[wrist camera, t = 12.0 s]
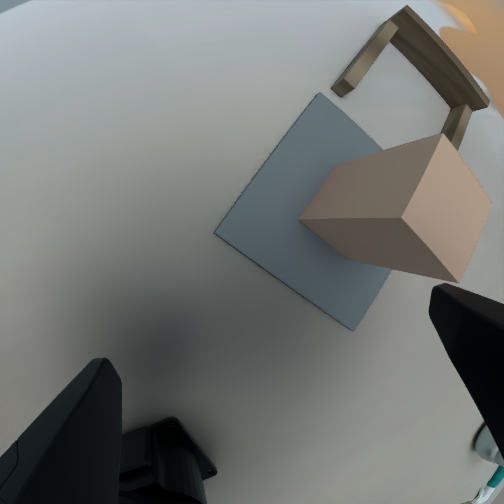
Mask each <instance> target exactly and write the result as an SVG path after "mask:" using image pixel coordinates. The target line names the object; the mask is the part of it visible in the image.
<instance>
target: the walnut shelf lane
mask: <svg viewBox="0 0 504 504" xmlns="http://www.w3.org/2000/svg"><path fill="white" fill-rule="evenodd" d="M389 41H390V42H391V43H392V44H393V45H394V46H395V47H396V48H397V49H398V50H399V51H400V52H401V53H402V54H403V55H404V56H405V57H406V58H407V59H408V60H409V61H410V62H411V63H412V64H413V65H414V66H415V67H416V68H417V69H418V70H419V71H420V72H421V73H422V74H423V75H424V77H425V78H426V79H427V80H428V81H429V82H430V83H431V84H432V86H433V87H434V88H435V89H436V90H437V91H438V93H439V94H440V95H441V96H442V97H443V98H444V100H445V101H446V102H447V103H448V105H449V106H450V107H451V108H452V109H451V111H450V113H449V116H448V118H447V120H446V123H445V125H444V127H443V130H442V132H441V133H443V134H444V135H445V136H446V137H447V139H448V140H449V141H450V142H451V144H452V145H453V146H454V148H455V149H456V150H457V151H458V149H459V146H460V144H461V141H462V139H463V136H464V133H465V131H466V128H467V125H468V122H469V120H470V117H471V114H472V112H473V111H476V110H480V109H483V108H487V107H488V105H489V102H490V100H489V99H488V97H487V96H486V95H485V93H484V92H483V90H482V89H481V88H480V86H479V85H478V83H477V82H476V81H475V79H474V78H473V77H472V76H471V74H470V73H469V72H468V70H467V69H466V68H465V67H464V65H463V64H462V63H461V62H460V60H459V59H458V58H457V57H456V56H455V54H454V53H453V52H452V51H451V50H450V49H449V47H448V46H447V45H446V44H445V43H444V42H443V41H442V40H441V38H440V37H439V36H438V35H437V34H436V33H435V32H434V31H433V30H432V29H431V28H430V27H429V26H428V25H427V24H426V23H425V22H424V21H423V20H422V19H421V18H420V17H419V16H418V15H417V14H416V13H415V12H414V11H413V10H412V9H411V8H410V7H409V6H408V5H406V6H405V7H404V8H402V9H401V10H400V11H398V12H397V13H396V14H394V15H393V16H392V17H391V18H389V19H388V20H387V21H385V22H384V23H383V24H382V25H381V26H380V27H379V28H378V29H377V31H376V32H375V33H374V34H373V36H372V37H371V38H370V39H369V41H368V42H367V43H366V44H365V46H364V47H363V48H362V49H361V51H360V52H359V53H358V54H357V56H356V57H355V58H354V59H353V61H352V62H351V63H350V64H349V66H348V67H347V68H346V69H345V71H344V72H343V73H342V75H341V76H340V77H339V78H338V80H337V81H336V82H335V84H334V85H333V86H332V87H331V89H332V90H333V91H334V92H335V93H336V94H338V95H339V96H340V97H343V96H344V95H346V94H347V93H349V92H350V91H352V90H353V89H355V87H356V86H357V85H358V83H359V82H360V81H361V79H362V78H363V76H364V75H365V74H366V72H367V71H368V70H369V68H370V67H371V65H372V64H373V63H374V61H375V60H376V58H377V57H378V56H379V54H380V53H381V52H382V50H383V49H384V48H385V46H386V45H387V43H388V42H389Z"/></svg>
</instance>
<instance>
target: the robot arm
mask: <svg viewBox="0 0 504 504" xmlns="http://www.w3.org/2000/svg"><path fill="white" fill-rule="evenodd" d="M429 316H430V319H431V321H432V323H433V325H434V327H435V329H436V331H437V333H438V335H439V337H440V339H441V341H442V343H443V345H444V348H445V350H446V352H447V354H448V356H449V358H450V360H451V362H452V363H453V365H454V367H455V368H456V370H457V372H458V374H459V375H460V377H461V379H462V381H463V382H464V384H465V386H466V388H467V389H468V391H469V393H470V395H471V397H472V398H473V400H474V402H475V404H476V406H477V408H478V410H479V411H480V413H481V415H482V417H483V419H484V421H485V423H486V425H487V427H488V429H489V431H490V433H491V435H492V437H493V439H494V441H495V443H496V445H497V447H498V449H499V452H500V454H501V456H502V458H503V460H504V304H502V303H500V302H497V301H494V300H492V299H489V298H486V297H484V296H481V295H478V294H475V293H473V292H470V291H467V290H464V289H462V288H459V287H456V286H453V285H450V284H448V283H443V284H440V285H436V286H434V287H433V289H432V292H431V299H430V305H429ZM171 423H174V424H176V425H174V426H171V425H170V424H171ZM210 470H212V471H210ZM216 474H217V469H216V467H215V466H214V464H213V463H212V462H211V461H210V460H209V458H208V457H207V456H206V455H205V454H204V452H203V451H202V450H201V449H200V447H199V446H198V445H197V444H196V442H195V441H194V440H193V439H192V437H191V436H190V435H189V433H188V432H187V431H186V429H185V428H184V427H183V426H182V424H181V423H180V422H179V420H178V419H176V418H173V417H171V418H168V419H165V420H163V421H160V422H158V423H156V424H153V425H151V426H144V427H142V428H139V429H137V430H134V431H132V432H129V433H127V434H124V435H122V382H121V379H120V377H119V375H118V373H117V372H116V370H115V368H114V367H113V365H112V363H111V362H110V360H109V359H108V358H105V357H104V358H95V359H93V360H92V361H91V362H90V363H89V364H88V365H87V366H86V367H85V368H84V369H83V370H82V371H81V372H80V373H79V374H78V375H77V376H76V377H75V378H74V379H73V380H72V381H71V382H70V383H69V384H68V385H67V386H66V387H65V388H64V390H63V391H62V392H61V393H60V394H59V395H58V396H57V397H56V398H55V399H54V400H53V401H52V402H51V403H50V404H49V405H48V406H47V407H46V408H45V410H44V411H43V412H42V413H41V414H40V415H39V416H38V417H37V418H36V419H35V420H34V421H33V422H32V423H31V424H30V426H29V427H28V428H27V429H26V430H25V431H24V432H23V433H22V434H21V435H20V436H19V438H18V439H17V440H16V441H15V442H14V443H13V444H12V445H11V446H10V447H9V449H8V450H7V451H6V452H5V453H4V454H3V455H2V456H1V457H0V504H207V500H206V495H205V491H204V486H203V480H205V479H208V478H210V477H213V476H215V475H216Z"/></svg>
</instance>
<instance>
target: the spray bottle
mask: <svg viewBox="0 0 504 504" xmlns="http://www.w3.org/2000/svg"><path fill="white" fill-rule="evenodd" d="M503 478H504V467H502V466H499V468H498V470H497V471H496V472H495V474H494V475H493V477H492V478H491V480H490V481H489V482H488V485H487V486H486V488H485V489H482V490H481V492H480V493H479V495H478V496H477V497H476V498H475V499H474V500H473V501H472V502H471V503H472V504H481V503H483V502H484V501H486V500H487V499H488V498H489V496H490V494H491V493H492V492H493V491H494V489H495V488H496V486H497V485H498V484H499V483H500V482H501V480H502V479H503Z"/></svg>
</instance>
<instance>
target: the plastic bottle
mask: <svg viewBox="0 0 504 504" xmlns="http://www.w3.org/2000/svg"><path fill="white" fill-rule="evenodd" d="M475 448H476V452H477V453H478V454H479V456H480V457H481V458H483V459H485V460H487V461H489V462H492V463H496V464H498V465H500V466H502V467H504V460H503V458H502V456H501V454H500V452H499V449H498V447H497V445H496V443H495V441H494V439H493V437H492V435H491V433H490V431H489V429H488V427H487V425H485V426H484V428H483V429H482V431H481V432H480V434H479V436H478V438H477V440H476V443H475Z"/></svg>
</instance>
